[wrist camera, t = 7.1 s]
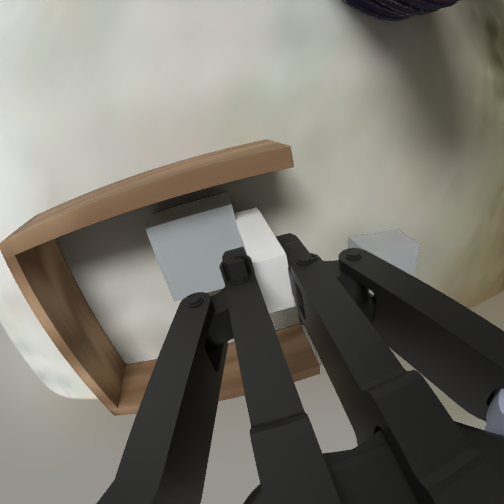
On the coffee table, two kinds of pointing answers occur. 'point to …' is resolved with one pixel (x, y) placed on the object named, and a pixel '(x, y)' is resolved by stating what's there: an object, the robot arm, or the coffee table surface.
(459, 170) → the coffee table surface
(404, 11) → the storage jar
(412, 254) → the tile
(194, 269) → the tile
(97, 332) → the frame
